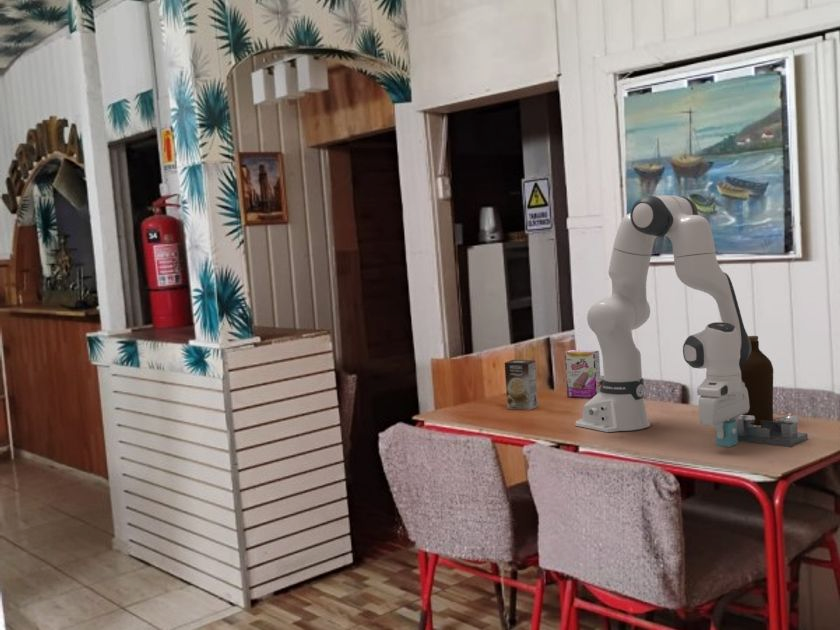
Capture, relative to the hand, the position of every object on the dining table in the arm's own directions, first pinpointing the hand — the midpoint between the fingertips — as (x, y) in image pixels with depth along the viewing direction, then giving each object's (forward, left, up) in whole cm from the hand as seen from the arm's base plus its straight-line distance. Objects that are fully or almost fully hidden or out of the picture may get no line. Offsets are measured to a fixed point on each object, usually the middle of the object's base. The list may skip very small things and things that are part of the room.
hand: (726, 435), depth 250 cm
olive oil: (-6, +28, -2) cm, 29 cm away
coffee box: (-83, +14, -2) cm, 84 cm away
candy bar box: (-75, +38, -2) cm, 84 cm away
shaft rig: (+6, +10, -2) cm, 12 cm away
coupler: (0, 0, -2) cm, 2 cm away
